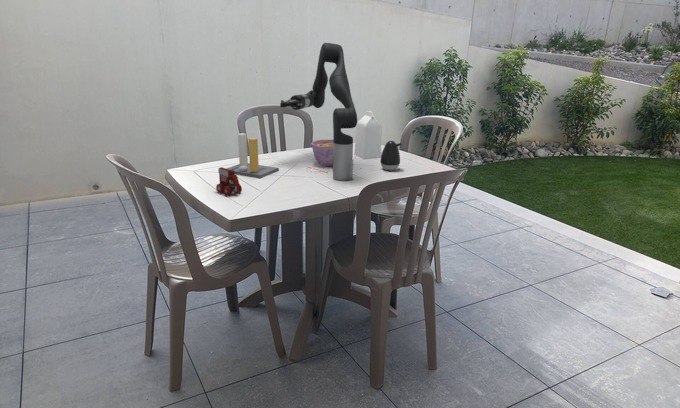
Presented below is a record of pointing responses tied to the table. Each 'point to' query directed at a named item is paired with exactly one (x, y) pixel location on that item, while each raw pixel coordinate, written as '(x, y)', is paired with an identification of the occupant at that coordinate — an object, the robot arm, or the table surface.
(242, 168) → the button grey
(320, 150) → the bowl of food
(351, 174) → the robot arm
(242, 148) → the lever ivory
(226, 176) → the toy fire truck
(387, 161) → the pump dispenser
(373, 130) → the milk
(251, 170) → the lever amber
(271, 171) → the panel
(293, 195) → the table surface
